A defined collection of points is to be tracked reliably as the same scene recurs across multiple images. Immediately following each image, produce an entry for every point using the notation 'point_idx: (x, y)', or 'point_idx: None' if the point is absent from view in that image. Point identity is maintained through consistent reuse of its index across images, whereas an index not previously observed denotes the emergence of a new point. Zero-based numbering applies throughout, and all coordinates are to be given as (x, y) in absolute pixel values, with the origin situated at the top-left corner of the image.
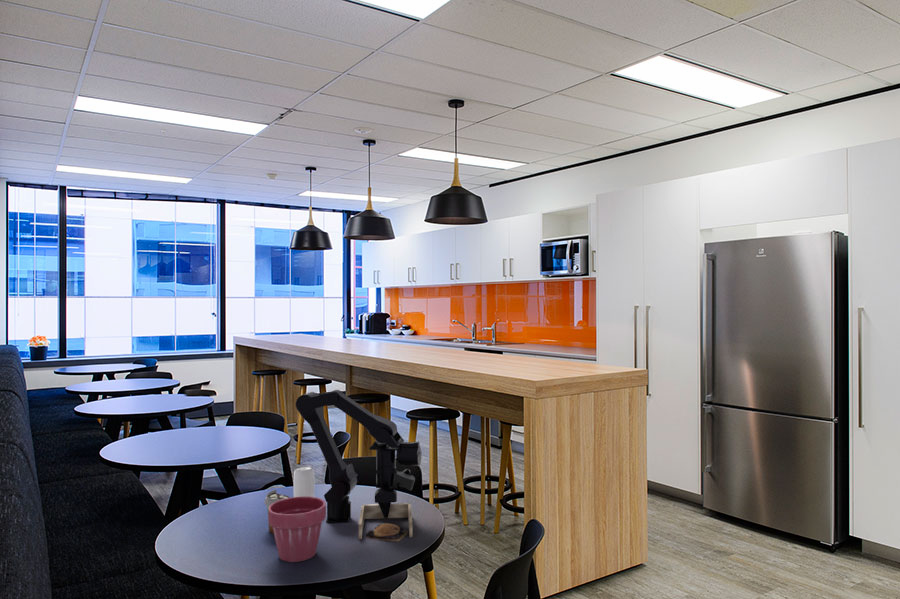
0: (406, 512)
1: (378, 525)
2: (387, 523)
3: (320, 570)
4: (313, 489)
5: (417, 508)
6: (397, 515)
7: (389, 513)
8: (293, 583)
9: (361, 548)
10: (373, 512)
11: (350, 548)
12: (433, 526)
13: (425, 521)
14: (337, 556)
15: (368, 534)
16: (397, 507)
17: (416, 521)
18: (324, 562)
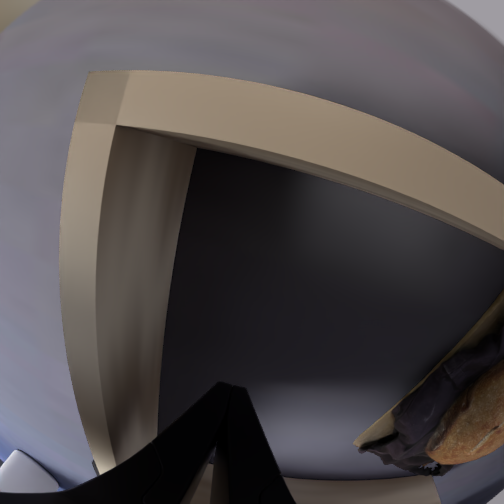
0: (171, 162)
1: (401, 456)
2: (498, 434)
3: (493, 488)
4: (13, 490)
5: (36, 55)
6: (165, 267)
7: (148, 352)
8: (490, 499)
9: (488, 456)
10: (141, 448)
11: (463, 479)
12: (487, 47)
13: (375, 29)
14: (473, 487)
15: (436, 467)
16: (119, 304)
17: (352, 98)
18: (473, 495)
